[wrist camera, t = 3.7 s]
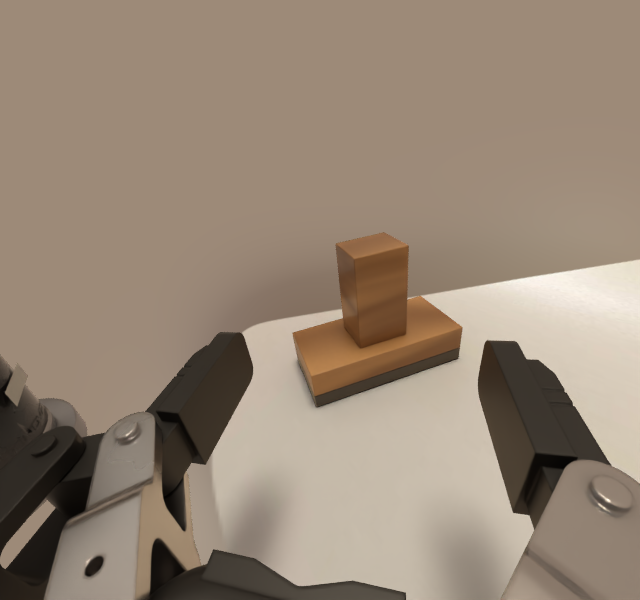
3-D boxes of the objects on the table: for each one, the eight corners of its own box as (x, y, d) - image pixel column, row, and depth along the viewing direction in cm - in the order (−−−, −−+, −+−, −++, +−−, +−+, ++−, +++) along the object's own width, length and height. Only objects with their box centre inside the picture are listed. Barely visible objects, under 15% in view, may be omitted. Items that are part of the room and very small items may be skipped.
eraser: (458, 358, 22) (475, 236, 18) (316, 407, 20) (293, 282, 15) (419, 323, 26) (424, 217, 22) (298, 360, 24) (275, 251, 20)
